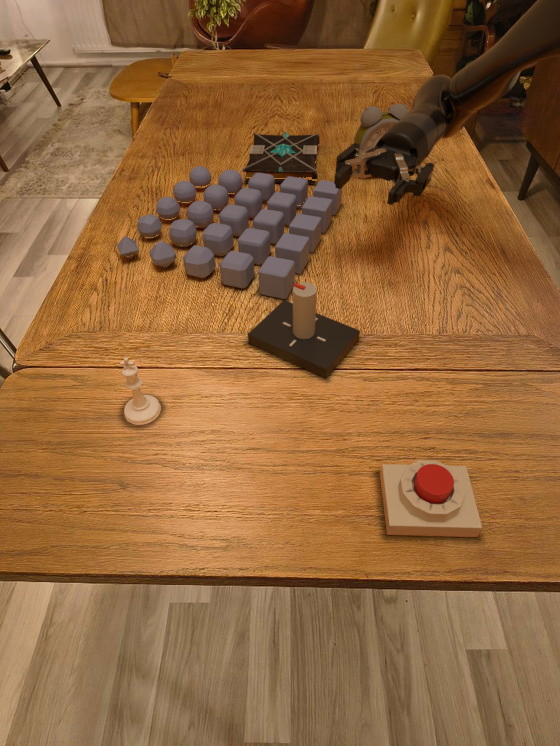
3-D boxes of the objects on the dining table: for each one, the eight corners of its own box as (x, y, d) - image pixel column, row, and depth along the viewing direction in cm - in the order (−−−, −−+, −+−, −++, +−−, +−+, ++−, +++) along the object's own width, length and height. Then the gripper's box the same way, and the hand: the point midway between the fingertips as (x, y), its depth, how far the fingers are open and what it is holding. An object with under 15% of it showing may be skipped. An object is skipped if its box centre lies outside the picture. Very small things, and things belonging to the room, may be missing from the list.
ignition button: (446, 472, 59) (450, 464, 57) (453, 504, 56) (457, 495, 55) (411, 472, 59) (414, 463, 58) (416, 503, 56) (419, 494, 55)
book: (317, 186, 116) (317, 164, 113) (243, 184, 117) (241, 163, 114) (319, 147, 131) (320, 126, 128) (253, 146, 132) (252, 125, 129)
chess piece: (129, 397, 72) (111, 345, 65) (164, 397, 72) (149, 345, 65) (120, 424, 69) (100, 372, 62) (157, 425, 69) (141, 373, 62)
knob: (319, 329, 79) (321, 285, 73) (307, 342, 77) (308, 297, 71) (300, 321, 80) (301, 277, 74) (288, 334, 78) (288, 289, 72)
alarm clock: (357, 182, 117) (363, 112, 107) (348, 169, 122) (353, 101, 111) (405, 176, 119) (416, 107, 108) (395, 164, 124) (404, 96, 113)
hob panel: (358, 340, 80) (360, 329, 78) (326, 379, 74) (326, 368, 73) (284, 309, 86) (284, 299, 84) (248, 343, 80) (247, 333, 78)
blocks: (285, 300, 87) (285, 276, 84) (112, 263, 96) (105, 240, 92) (341, 204, 110) (342, 182, 106) (196, 182, 119) (193, 161, 115)
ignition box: (462, 475, 63) (470, 456, 60) (477, 537, 57) (487, 519, 54) (379, 474, 63) (383, 455, 60) (386, 535, 57) (391, 517, 55)
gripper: (369, 111, 84) (322, 154, 75) (454, 132, 79) (413, 179, 70) (364, 156, 89) (319, 200, 81) (443, 177, 85) (404, 227, 76)
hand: (363, 190), depth 75 cm, fingers open, 8 cm apart
